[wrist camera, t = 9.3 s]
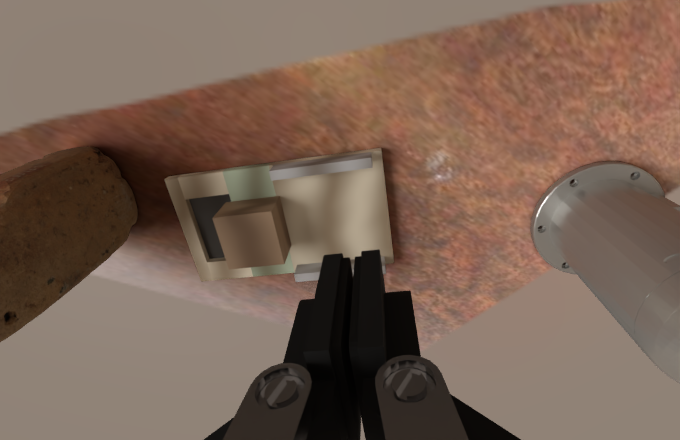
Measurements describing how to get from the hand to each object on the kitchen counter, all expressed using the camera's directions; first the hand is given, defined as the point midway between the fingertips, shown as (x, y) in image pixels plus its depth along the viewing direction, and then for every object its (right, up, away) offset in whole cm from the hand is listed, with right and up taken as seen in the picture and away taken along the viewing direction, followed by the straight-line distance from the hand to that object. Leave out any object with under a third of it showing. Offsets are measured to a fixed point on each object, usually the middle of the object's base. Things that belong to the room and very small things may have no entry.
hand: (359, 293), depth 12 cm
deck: (-7, +2, +32) cm, 33 cm away
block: (-27, +6, +32) cm, 42 cm away
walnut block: (-9, +2, +31) cm, 33 cm away
